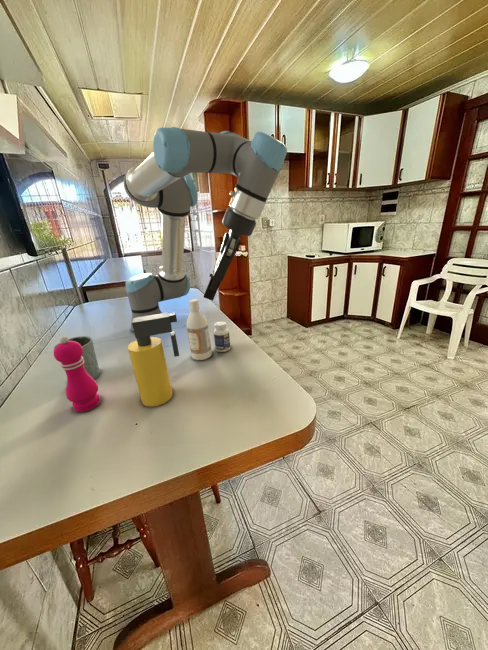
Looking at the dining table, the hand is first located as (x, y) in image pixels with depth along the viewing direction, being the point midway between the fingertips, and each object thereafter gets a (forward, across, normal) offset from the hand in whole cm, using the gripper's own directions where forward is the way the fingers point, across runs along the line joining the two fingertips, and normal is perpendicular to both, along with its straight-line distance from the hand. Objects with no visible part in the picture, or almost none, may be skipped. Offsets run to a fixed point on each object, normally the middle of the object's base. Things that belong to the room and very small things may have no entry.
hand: (208, 297), depth 73 cm
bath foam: (+25, -6, +6) cm, 27 cm away
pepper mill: (+34, +16, -20) cm, 43 cm away
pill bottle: (+23, -10, +13) cm, 28 cm away
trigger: (+13, +11, -3) cm, 17 cm away
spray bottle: (+25, +14, -2) cm, 29 cm away
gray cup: (+41, +2, -26) cm, 49 cm away
